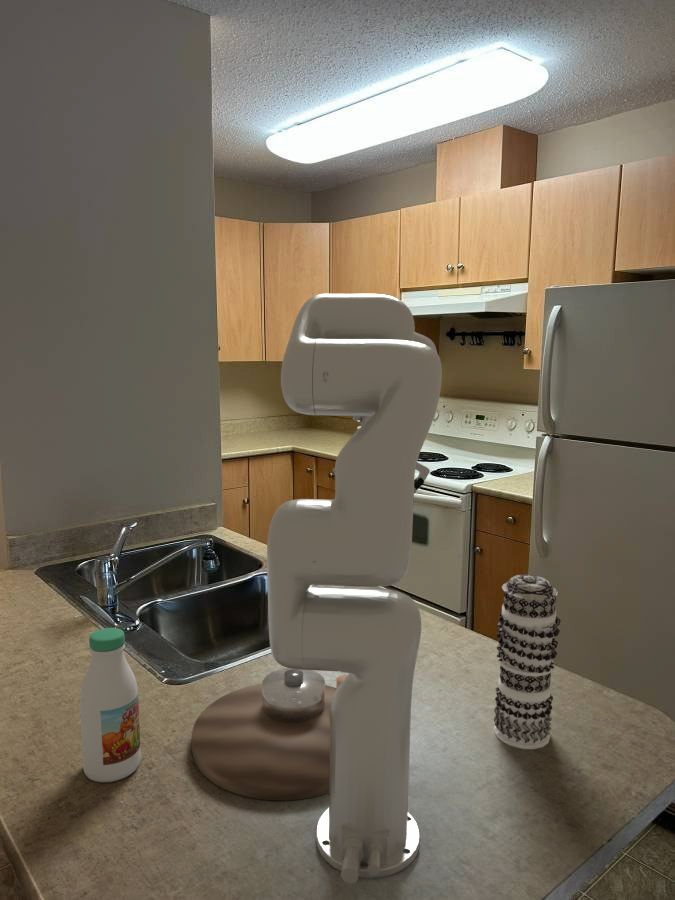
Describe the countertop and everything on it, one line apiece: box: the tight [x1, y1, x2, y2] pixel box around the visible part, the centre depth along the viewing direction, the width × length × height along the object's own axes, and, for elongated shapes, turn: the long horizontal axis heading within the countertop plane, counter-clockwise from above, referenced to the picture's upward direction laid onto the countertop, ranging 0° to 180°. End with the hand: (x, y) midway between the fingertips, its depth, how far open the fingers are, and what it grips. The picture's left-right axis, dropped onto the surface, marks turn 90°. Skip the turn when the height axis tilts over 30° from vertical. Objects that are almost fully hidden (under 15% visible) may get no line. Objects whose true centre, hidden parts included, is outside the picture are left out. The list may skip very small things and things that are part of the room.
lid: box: [261, 667, 326, 723], centre depth 107 cm, size 10×10×6 cm
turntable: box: [191, 674, 348, 801], centre depth 101 cm, size 28×28×6 cm
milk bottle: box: [80, 627, 142, 783], centre depth 93 cm, size 8×8×20 cm
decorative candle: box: [493, 574, 562, 750], centre depth 102 cm, size 9×9×25 cm
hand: (380, 514), depth 120 cm, fingers open, 9 cm apart
